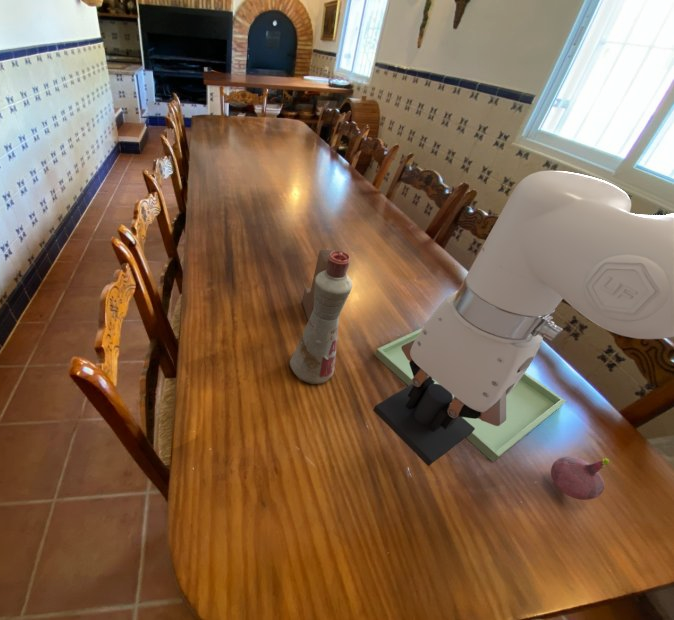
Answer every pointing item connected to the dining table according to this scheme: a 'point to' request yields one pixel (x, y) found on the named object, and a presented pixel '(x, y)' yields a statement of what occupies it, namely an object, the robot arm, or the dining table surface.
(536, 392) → the pale green flat tray
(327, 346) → the bottle
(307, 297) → the wooden block
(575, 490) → the vegetable
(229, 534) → the dining table surface
